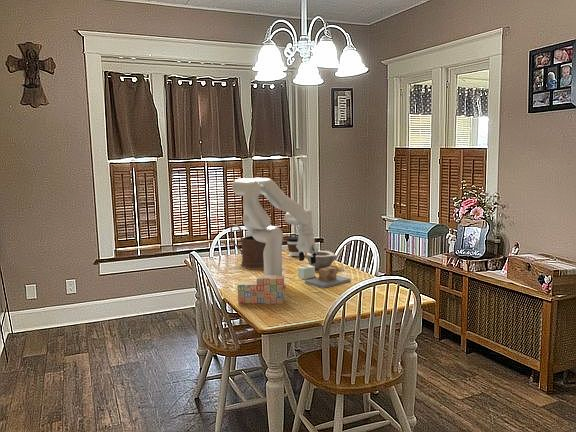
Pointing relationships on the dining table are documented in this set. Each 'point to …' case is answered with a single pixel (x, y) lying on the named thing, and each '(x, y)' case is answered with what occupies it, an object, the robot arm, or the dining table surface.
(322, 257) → the mortar
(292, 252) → the coffee cup
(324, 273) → the walnut brick
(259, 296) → the stack of blocks
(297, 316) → the dining table surface
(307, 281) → the baseplate
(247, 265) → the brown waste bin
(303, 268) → the mint brick
